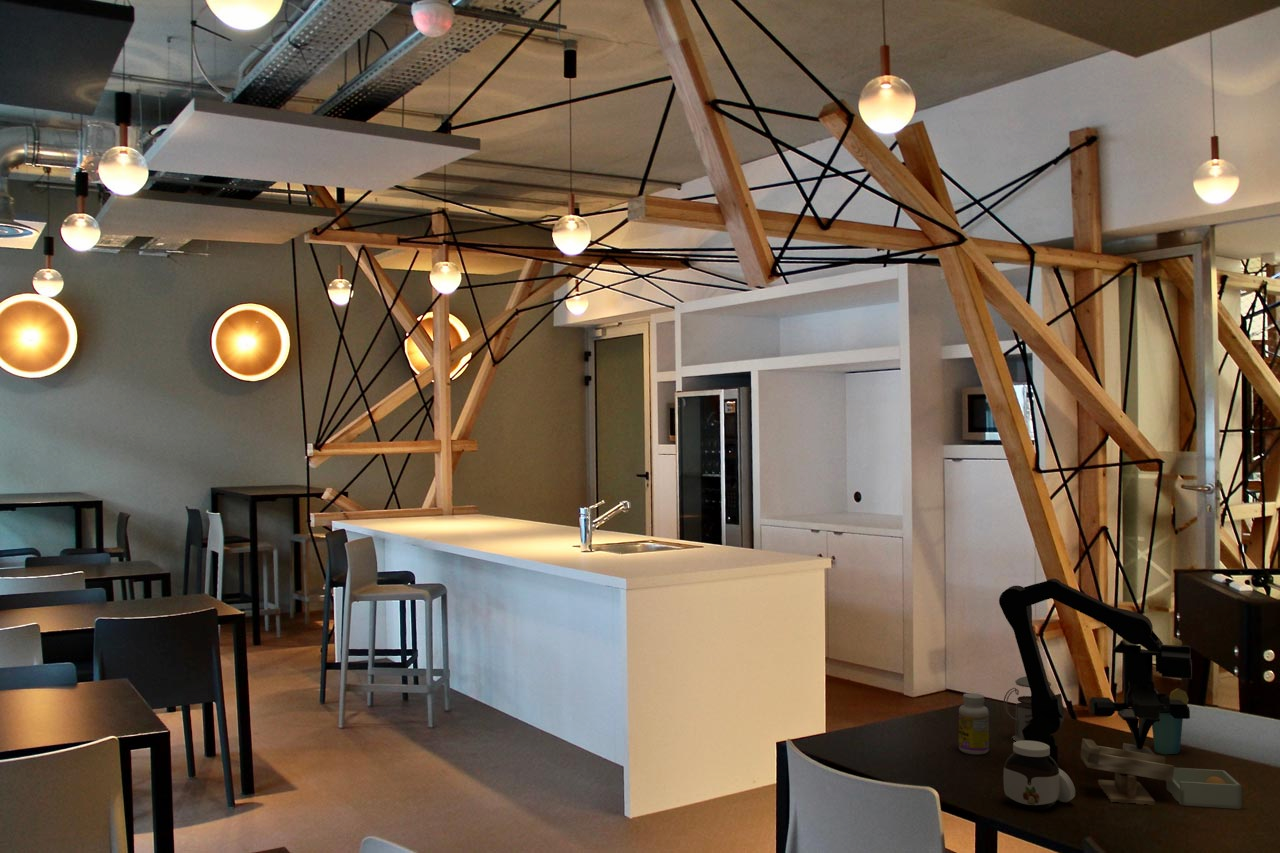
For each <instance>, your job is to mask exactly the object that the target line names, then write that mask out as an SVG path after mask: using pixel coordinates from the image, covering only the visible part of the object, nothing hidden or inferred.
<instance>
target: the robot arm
mask: <svg viewBox="0 0 1280 853" xmlns="http://www.w3.org/2000/svg"><path fill="white" fill-rule="evenodd" d="M1050 599H1053V600H1054V601H1057V602H1058V603H1060V604H1063V605H1065V606H1066V607H1069V608H1071V609H1073V610H1075V611H1077V612H1079V613H1082V614H1083V615H1085V616H1087V617H1089V618H1092V619H1094V620H1095V621H1098V622H1100V623H1102V624H1103V625H1105V626H1106V627H1108V628H1109V629H1110V630H1111V631H1112V632H1114V633H1115V634H1116V635H1117V636H1119V637H1121V638H1122V640H1120V641H1119V643H1118V644H1117V645H1115V646H1114V647H1113V649H1112V651H1113V653H1115V654H1116V653H1117V654H1122V665H1123V667H1122V671H1123V672H1122V673H1123V674H1122V675H1123V676H1122V682H1123V695H1122V698H1123V699H1122V700H1123V702H1117V701H1116V702H1114V701H1113V700H1112V699H1111V698H1110V697H1106V696H1105V697H1103V696H1092V697H1091V698H1090V699H1089V711H1091V713H1092V714H1093V715H1094V716H1098V717H1112V716H1113V715H1114V714H1115V713H1116V712H1117V715H1118V716H1119V717H1120V718H1121V719H1122V720H1123V721H1125V723H1126V724H1127V726H1128V728H1129V731H1130V734H1131V736H1132V738H1133V742H1134V745H1136V747H1137V748H1138V749H1142V748H1143V746H1144V744H1145V742H1146V739H1147V736H1148V735H1149V731H1150V730H1151V729H1152V725H1153V724H1154V723H1155V722H1159V721H1160V718H1159V717H1160V713H1170V715H1171V716H1172V717H1174V718H1175V719H1183V720H1189V719H1191V709H1190V706H1188V705H1186V704H1185V703H1184V702H1182V701H1181V700H1173V699H1170V697H1169V696H1170V694H1168V693H1161V692H1158V693H1159V694H1156V692H1155V690H1156V689H1155V683H1154V667H1153V666H1154V665H1153V664H1154V660H1153V656H1155V671H1156V672H1158V674H1161V677H1162V678H1174V679H1182V680H1183V679H1185V680H1187V679H1188V680H1192V679H1193V659H1191V646H1190V645H1186V644H1183V645H1181V644H1180V645H1175V644H1174V645H1172V644H1164V643H1163V641H1162V640H1161V639H1160V638H1159V637H1158V635H1157V634H1156V633H1155V631H1154V628H1153V624H1152V623H1153V622H1152V621H1151V619H1150V618H1149V617H1148V616H1146V615H1145V614H1142V613H1140V612H1135V611H1133V610H1129V609H1123V608H1119V607H1115V606H1112V605H1110V604H1108V603H1106V602H1104V601H1101V600H1099V599H1097V598H1095V597H1093V596H1091V595H1088V594H1086V593H1084V592H1083V591H1081V590H1078V589H1076V588H1074V587H1072V586H1070V585H1067V584H1066V583H1065V582H1064V583H1063V582H1061V580H1059V579H1056V578H1049V579H1047V580H1045V581H1042V582H1039V583H1038V582H1037V583H1034V584H1030V585H1028V586H1024V587H1023V586H1020V585H1011V586H1009V587H1008V588H1007V589H1005V590H1004V591H1002V593H1001V594H1000V596H999V599H998V604H999V607H1000V609H1001V611H1002V613H1003V615H1004V618H1006V620H1007V622H1008V624H1009V626H1010V627H1011V629H1012V630H1013V632H1014V633H1013V634H1014V637H1015V640H1016V643H1017V646H1018V652H1019V654H1020V658H1021V661H1022V665H1023V669H1024V672H1025V676H1027V680H1028V683H1029V687H1030V688H1029V687H1028V688H1029V690H1030V697H1031V709H1030V710H1032V715H1031V717H1032V719H1031V720H1028V723H1027V724H1026V723H1025V724H1026V726H1025V727H1024V728H1023V730H1022V733H1023V740H1027V741H1037V742H1042V743H1045V744H1047V745H1049V747H1050V755H1049V756H1050V757H1051V758H1052V759H1053V760H1054V761H1055V762H1056V764H1057V765H1058V764H1059V762H1058V761H1059V757H1058V756H1059V753H1058V752H1059V748H1058V745H1057V743H1056V738H1055V737H1054V736H1053V735H1052V734H1055V733H1056V732H1058V730H1059V729H1060V727H1061V726H1062V724H1063V723H1064V720H1065V714H1066V712H1067V709H1066V708H1065V706H1064V704H1063V697H1062V693H1057V694H1055V692H1053V690H1052V688H1051V686H1049V683H1048V682H1049V679H1048V676H1047V672H1046V670H1045V665H1044V663H1043V662H1044V661H1043V658H1042V655H1041V651H1040V647H1039V644H1038V642H1037V641H1038V639H1037V640H1036V637H1037V636H1036V635H1035V631H1034V630H1035V629H1034V628H1033V609H1032V608H1033V607H1032V605H1036V604H1038V603H1041V602H1044V601H1046V600H1050ZM1035 636H1036V637H1035ZM1124 640H1125V641H1126V642H1127V643H1129V644H1127V643H1126V642H1125V641H1124ZM1142 647H1143V648H1144V649H1143V648H1142Z"/></svg>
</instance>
